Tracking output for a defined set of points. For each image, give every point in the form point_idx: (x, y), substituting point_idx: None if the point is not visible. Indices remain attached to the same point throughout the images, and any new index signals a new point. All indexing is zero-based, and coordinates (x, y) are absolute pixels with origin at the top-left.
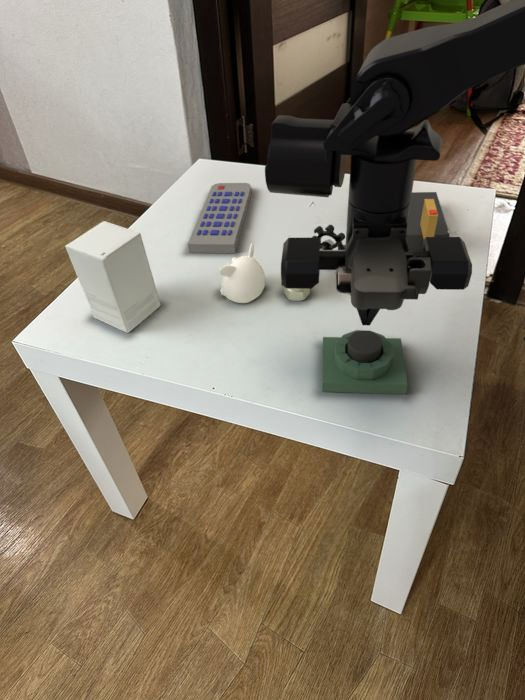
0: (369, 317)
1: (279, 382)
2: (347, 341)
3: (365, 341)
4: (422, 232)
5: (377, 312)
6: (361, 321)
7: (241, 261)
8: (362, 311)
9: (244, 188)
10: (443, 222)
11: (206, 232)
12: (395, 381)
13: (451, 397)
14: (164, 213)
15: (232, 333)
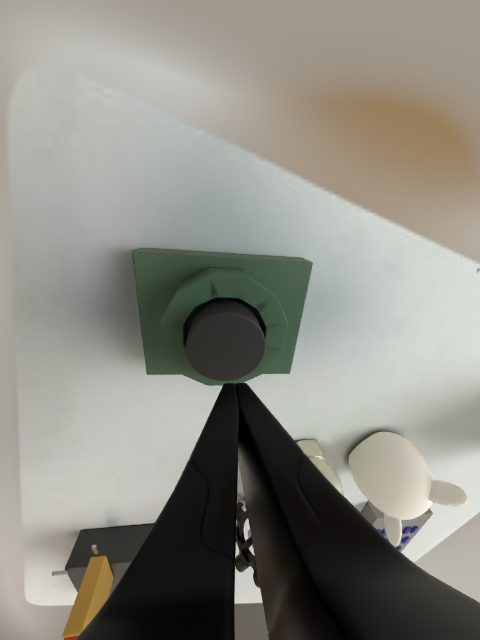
0: (231, 408)
1: (370, 282)
2: None
3: (225, 349)
4: (108, 569)
5: (204, 431)
6: (254, 393)
7: (419, 512)
8: (268, 432)
9: None
10: (76, 584)
11: (406, 530)
12: (159, 262)
13: (42, 237)
14: (428, 540)
15: (411, 380)
